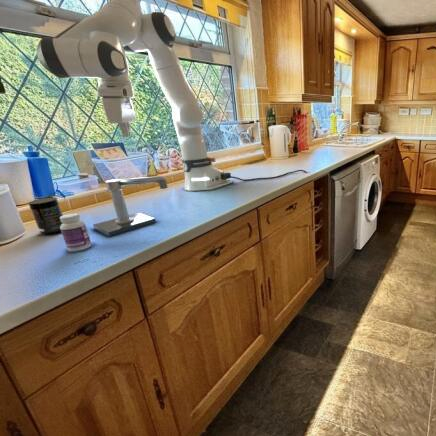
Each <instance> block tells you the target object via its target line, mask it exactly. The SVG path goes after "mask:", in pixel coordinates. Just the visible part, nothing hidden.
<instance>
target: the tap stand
mask: <svg viewBox="0 0 436 436" xmlns="http://www.w3.org/2000/svg"><path fill="white" fill-rule="evenodd" d="M109 193H110V198H111V201H112V204H113V207H114V212H115V215H116V217H117V218H112V219H109V220H105V221H102V222H99V223H93V224H92V226H93V229H94V230H96V231H97V232H100V233H102V234H103V235H106V236H108V237H112V236H115V235H118V234H122V233H125V232H129V231H132V230H136V229H138V228H142V227H146V226H149V225H152V224H154V223H156V222H157V221H156V218H155V217H152V216H149V215H147V214H144V213H141V212H135V213H131V214H129V211H128V208H127V204H126V200H125V197H124V193H123V188H122V189H120V190H114V191H109Z"/></svg>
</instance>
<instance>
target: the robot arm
mask: <svg viewBox="0 0 436 436" xmlns="http://www.w3.org/2000/svg"><path fill="white" fill-rule="evenodd" d="M175 42H176V30H175V27H174V25H173V22H172V21H171V19H170V18H169V16H167V15H166V14H165V13H164V12H162V11H152V12H150V13H143V14H142V12H141V11H140V9H139V7H138V6H137V5H136V4H135V3H134V2H133V1H132V0H109V1H108V2H106V3H105V4H104V5H103V6H102V7H101V8H100V9H98V10H97V11H95V12H94V13H93V14H91V15H89V16H87V17H85V18H83V19H81V20H79V21H77V22H75V23H73V24H71V25H70V26H68V27H67V28H66V29H64V30H63V31H61V32H60V33H58V34H57V35H55V36H53V37H52V36H43V37H42V38H41V39H40V40H39V42H38V44H37V46H36V56H37V59H38V61H39V63H40V64H41V66H42V67H43V68H44V69H45V70H46V71H47V72H49V73H50V74H51V75H53V76H55V77H56V78H58V79H73V78H85V79H86V78H90V79H97V82H98V87H97V88H96V93H97V96H98V97H99V98H101V104H102V107H103V111H104V114H105V117H106V119H107V121H108V123H109V124H118V127H119V130H120V131H121V136H122V137H123V138H129V137H131V136H132V134H131V122H135V121H136V120H137V118H136V113H135V112H136V111H135V109H134V104H133V101H132V99H135V94H134V87H133V83H132V80H131V77H130V74H129V63H128V59H127V54H137V53H141V52H147V53H148V58H149V61H150V64H151V67H152V69H153V71H154V74H155V76H156V78H157V81H158V84H159V85H160V88H161V90H162V92H163V94H164V96H165V98H166V100H167V102H168V103H169V106H170V108H171V111H172V112H171V116H172V120H173V121H172V122H173V125H174V128H175V129H174V130H175V132H176V136H177V140H178V144H179V148H180V149H179V150H180V154H181V164H182V170H183V172H184V190H185V191H189V192H190V191H191V192H197V191H211V190H215V189H218V188H222V187H224V186H227V185H229V184H232V180H231V179H236V180H239V181H241V182H242V181H243V182H250V181H257V180H272V179H277V178H281V177H284V176H286V175H289V174H293V173H297V172H298V173H299V172H304V173H306V174H307V173H308V171H306V170H304V169H297V170H294V171H289V172H286V173H283V174H280V175H276V176H270V177H269V176H268V177H256V178H248V179H245V178H240V177H237V176H232V175H231V172H225V171H224V170H222V169H221V168H219V167H217V166H215V165H214V164H213V163H215V162H216V158H215V157H209V156H208V152H207V147H206V140H205V137H204V134H203V131H202V127H201V124H202V123H203V120H204V113H203V110H202V109H201V107H200V105H199V102H198V101H197V97H196V96H195V94H194V92H193V90H192V88H191V86H190V84H189V81H188V79H187V77H186V73H185V71H184V68H183V66H182V64H181V60H180V59H179V56H178V55H177V53H176V51H175V49H174V43H175ZM310 210H312V212H311V229H312V232H314V212H313V211H314V210H313V200H311V201H310Z"/></svg>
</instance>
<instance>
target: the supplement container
mask: <svg viewBox="0 0 436 436" xmlns="http://www.w3.org/2000/svg"><path fill="white" fill-rule="evenodd" d="M28 206H29V208H30V211H31V213H32V216H33V219H34V221H35V224H36V226H37V228H38V231H39V233H40V234H41V235H43V236H51V235H57V234H60V233H62V232H61V229H60V226H61V224H63V223H62V222H61V220H60V217H61V216H63V215H64V213H63V212H62V209H61V206H60V202H59V201H58V198H57V197H46V198H44V197H43V198H39V199H35V200H32V201H28Z"/></svg>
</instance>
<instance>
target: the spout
mask: <svg viewBox="0 0 436 436" xmlns="http://www.w3.org/2000/svg"><path fill="white" fill-rule="evenodd" d="M144 184H145V185H147V184H158V185H159V189H160V190H165V189H168V188H169V187H168V183H167V179H166V177H165V176H163V175H158V176H145V177H132V178H121V179H120V178H114V179H108V180H106V181H105V185H106V190H107V191H108V192H110V191H114V190H120V189H122V190H123V187H124V186H133V185H144Z"/></svg>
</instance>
